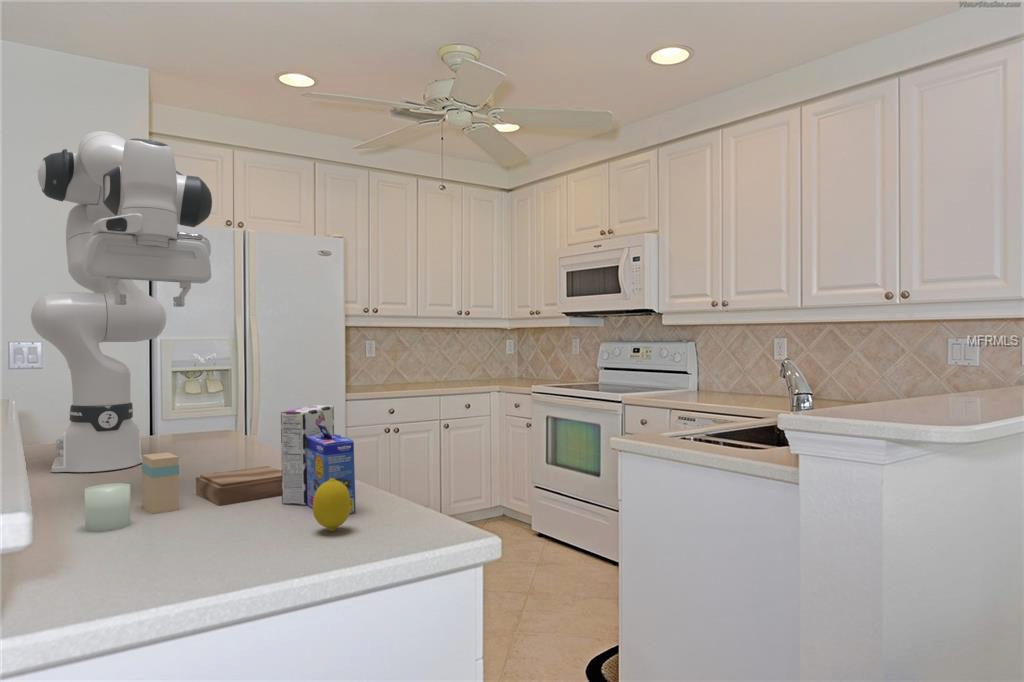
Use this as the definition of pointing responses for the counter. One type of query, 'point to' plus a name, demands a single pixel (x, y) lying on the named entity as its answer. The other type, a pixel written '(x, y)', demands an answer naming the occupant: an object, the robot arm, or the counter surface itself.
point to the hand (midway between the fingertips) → (150, 305)
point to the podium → (240, 485)
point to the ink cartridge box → (330, 463)
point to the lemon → (331, 504)
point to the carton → (160, 482)
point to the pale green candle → (107, 507)
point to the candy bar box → (300, 447)
